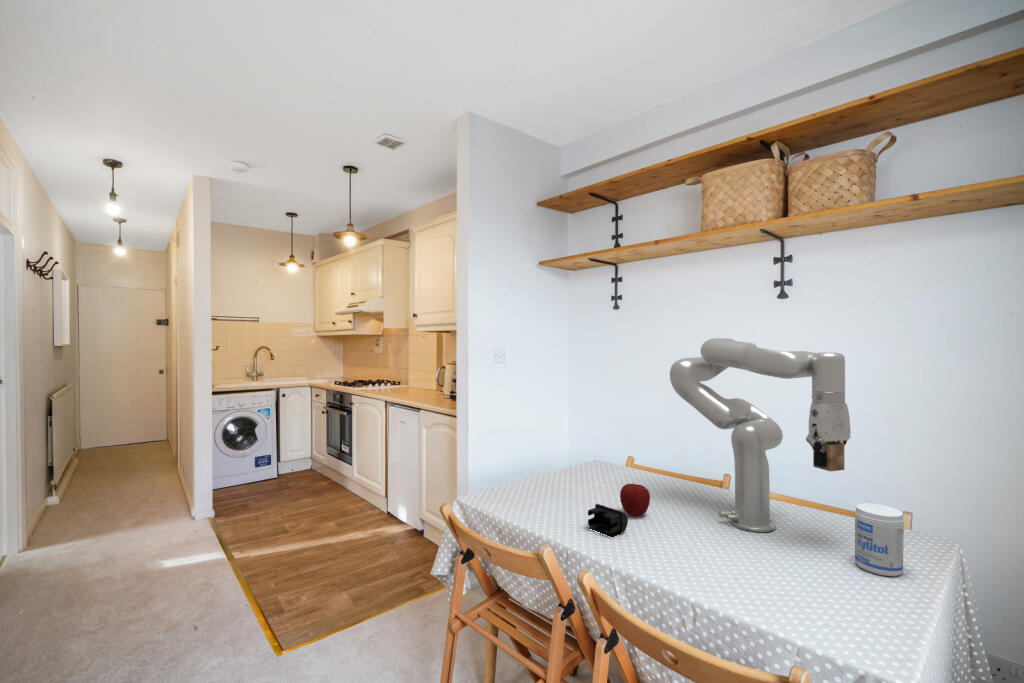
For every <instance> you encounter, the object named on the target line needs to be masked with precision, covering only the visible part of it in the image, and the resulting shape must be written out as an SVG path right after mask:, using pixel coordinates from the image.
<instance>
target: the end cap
mask: <svg viewBox="0 0 1024 683" xmlns="http://www.w3.org/2000/svg"><path fill="white" fill-rule="evenodd" d="M592 515H593V517H591V518H588V519H587V525H588V526H589V527H588V529H589V528H590V529H592V530H595V531H597V532H600V533H602V534H605V535H607V536H610V537H615V536H617V535H619V536H621V535H622V534H623V533H624V532H625V531H626V529H627V527H628V525H629V524H628V522H629V521H628V520H629V518H628V514H627V513H626V512H625V511H621V510H618V509H615V508H612V507H608V506H606V505H602V504H599V503H595V505H594V508H593V507H592V508H590V509H588V510H587V516H589V517H590V516H592ZM620 534H621V535H620ZM607 536H606V537H607ZM617 537H618V536H617ZM615 538H616V537H615Z"/></svg>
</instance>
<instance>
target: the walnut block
mask: <svg viewBox="0 0 1024 683" xmlns="http://www.w3.org/2000/svg"><path fill="white" fill-rule="evenodd" d="M819 445H820V446H821V442H819ZM844 448H845V446H844V443H839V442H837V441H836V442H827V443H826V447H825V452H826V453H827V467H821V466H817V465H815V464H814V450H813V449H812V450H813V452H812V453H813V454H812V455H813V460H812V461H813V462H812V465H813V468H816V469H821V470H824V471H828V472H837V471H839V472H840V471H845V449H844Z"/></svg>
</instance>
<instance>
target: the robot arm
mask: <svg viewBox="0 0 1024 683" xmlns="http://www.w3.org/2000/svg"><path fill="white" fill-rule="evenodd" d="M700 355H701V357H684V358H680V359H678V360H676V361H674V363H673V364H672V365H671V367H670V370H669V380H670V383H671V386H672V388H673V389H674V391H675V393H676V394H677V395H678V396H679V397H680V398H682V400H684V402H686V403H688V404H689V405H690V406H691V407H692V408H694V409H695V410H696V411H697V412H698V413H700V414H701V415H702V416H703V417H705V418H706V419H707V420H708V421H710V423H711V424H713V426H715V427H716V428H718V429H721V430H731V429H733V430H732V433H731V437H730V438H731V440H730V442H731V446H732V452H733V460H734V462H733V463H734V502H735V503H734V505H735V506H731V509H729V510H719V511H718V514H719V517H720V518H726V520H729V522H730V524H732V526H734V527H735V528H738V529H739V530H744V531H748V532H753V533H770V532H773V531H775V530H776V528H777V525H776V522H775V521H774V520H772V519H771V515H770V514H771V509H770V508H771V502H770V500H771V498H770V496H771V494H770V492H771V490H770V484H771V482H770V465H769V460H768V457H767V453H766V451H769V450H772V449H775V448H777V447H778V446H780V445H781V443H782V441H783V438H784V437H783V435H784V434H783V431H782V428H781V427H780V425H779V424H778V423H777V422H776V421H775V420H773V419H772V418H771V417H770V416H768V415H767V414H766V413H764V412H763V411H762V410H760V409H759V408H758V407H756V406H755V405H753V404H752V403H751V402H749V401H747V400H746V399H743V398H739V397H736V398H735V397H733V398H725V397H723V396H722V395H720V394H719V393H717V392H716V391H715V390H714V389H713V388H711V387H710V386H707V385H706V384H703V383H702V382H707V381H711V380H713V379H715V377H717V376H718V375H719V374H721V373H722V372H724V371H726V370H727V369H729V368H732V369H739V370H744V371H748V372H751V373H754V374H758V375H763V376H768V377H774V378H778V379H787V380H791V379H799V378H809V377H811V404H810V408H809V415H808V434H807V436H806V437H805V441H806V442H807V443H808V444H809V446H811V449H812V450H814V464H815V465H817V466H821V467H827V453H826V452H825V447H826V443H827V442H839V443H844V450H845V446H846V445H847V442H849V440H850V439H851V420H850V412H849V407H848V404H847V403H846V358H845V357H846V356H845V355H844V354H842V353H841V352H831V351H830V352H827V351H826V352H824V351H823V352H811V351H807V350H806V351H805V350H797V351H796V350H793V351H792V350H791V351H785V350H783V351H782V350H774V349H768V348H767V349H766V348H763V347H762V348H761V347H757V345H756V343H752V342H746V341H738V340H737V341H736V340H735V339H732V338H729V337H726V338H721V337H719V338H718V337H717V338H716V337H714V338H710V339H707V340H706V341H704V342H703V344H701V347H700ZM819 442H821V446H820V445H819Z"/></svg>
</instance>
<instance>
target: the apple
mask: <svg viewBox="0 0 1024 683" xmlns="http://www.w3.org/2000/svg"><path fill="white" fill-rule="evenodd" d="M619 500H620V503H621V506H622V509H623V512H624V513H626V515H627V516H629V517H634V518H635V517H636V518H639V517H642V516H643V515H644V514H646V513H647V511H648V509H649V506H650V502H651V494H650V491H649V489H648V488H647V487H646V486H644V485H643V484H638V483H626V484H624V485H623V486H622V487H621V488H620V493H619Z"/></svg>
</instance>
